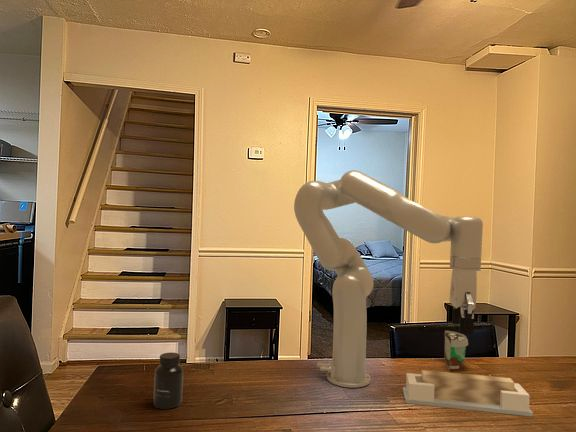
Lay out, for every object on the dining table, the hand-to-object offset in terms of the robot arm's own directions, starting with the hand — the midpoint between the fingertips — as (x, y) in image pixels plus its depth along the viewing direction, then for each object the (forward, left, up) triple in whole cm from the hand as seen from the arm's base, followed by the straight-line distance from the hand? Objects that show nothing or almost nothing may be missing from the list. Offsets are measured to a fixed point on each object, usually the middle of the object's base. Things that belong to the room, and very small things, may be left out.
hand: (462, 328), depth 110 cm
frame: (+1, -1, -19) cm, 19 cm away
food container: (+5, +27, -19) cm, 33 cm away
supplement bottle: (-72, -20, -19) cm, 78 cm away
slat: (+1, -2, -18) cm, 18 cm away
